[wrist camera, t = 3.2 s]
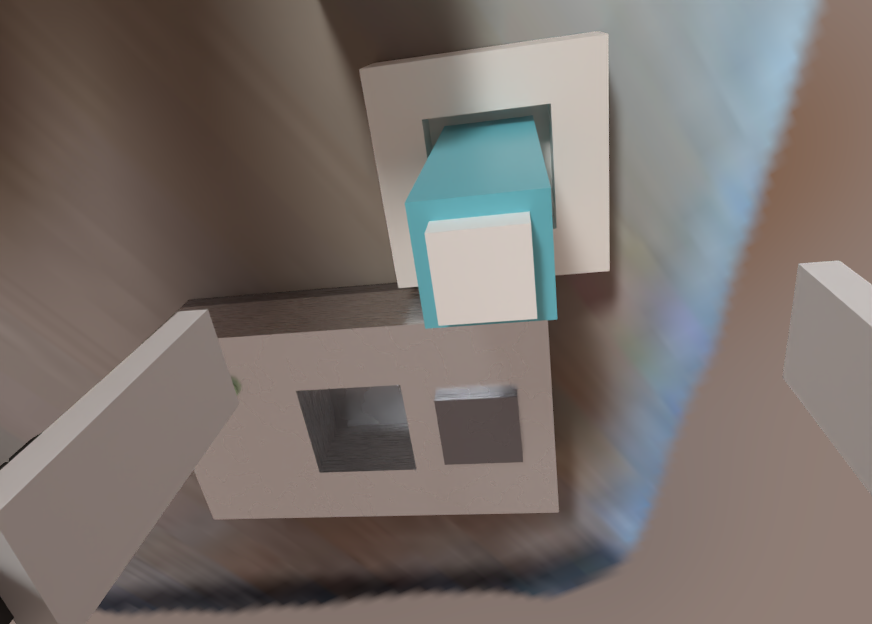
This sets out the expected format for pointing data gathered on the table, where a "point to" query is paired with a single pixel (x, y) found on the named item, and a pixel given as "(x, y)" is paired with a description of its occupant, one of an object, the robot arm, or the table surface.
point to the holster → (492, 100)
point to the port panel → (377, 409)
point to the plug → (484, 227)
